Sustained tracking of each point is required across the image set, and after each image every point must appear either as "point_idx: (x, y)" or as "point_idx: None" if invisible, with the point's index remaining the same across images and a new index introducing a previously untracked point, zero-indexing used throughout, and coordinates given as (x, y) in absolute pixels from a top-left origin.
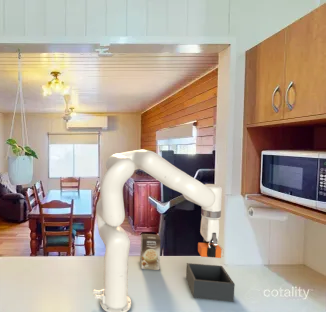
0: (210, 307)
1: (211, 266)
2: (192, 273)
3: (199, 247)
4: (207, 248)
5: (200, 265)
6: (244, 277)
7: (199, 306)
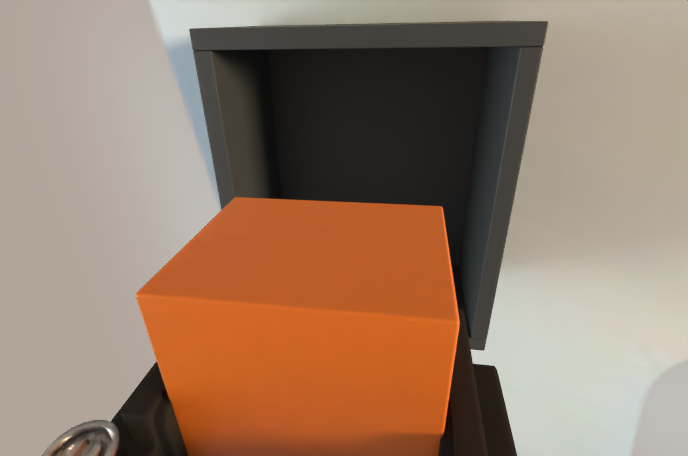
0: (196, 117)
1: (480, 271)
2: (313, 41)
3: (321, 262)
4: (158, 394)
5: (497, 178)
6: (514, 398)
7: (182, 47)
